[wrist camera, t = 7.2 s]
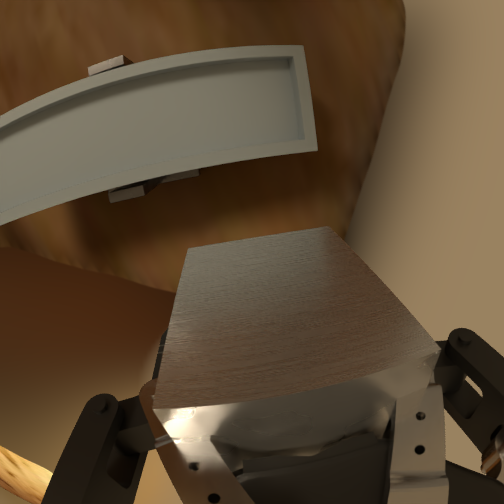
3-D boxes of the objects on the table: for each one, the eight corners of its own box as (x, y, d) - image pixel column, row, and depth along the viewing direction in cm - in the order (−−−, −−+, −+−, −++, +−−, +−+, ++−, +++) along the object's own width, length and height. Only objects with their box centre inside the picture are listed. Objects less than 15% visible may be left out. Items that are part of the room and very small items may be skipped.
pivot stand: (95, 90, 25) (52, 79, 16) (183, 65, 25) (166, 39, 16) (113, 192, 29) (75, 215, 21) (199, 174, 30) (189, 190, 21)
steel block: (188, 248, 12) (152, 408, 5) (328, 226, 12) (441, 349, 5) (216, 354, 15) (219, 498, 7) (329, 334, 15) (387, 463, 7)
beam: (-19, 136, 16) (-35, 137, 14) (291, 53, 21) (303, 45, 19) (-2, 223, 20) (-16, 232, 17) (304, 149, 25) (317, 150, 22)
